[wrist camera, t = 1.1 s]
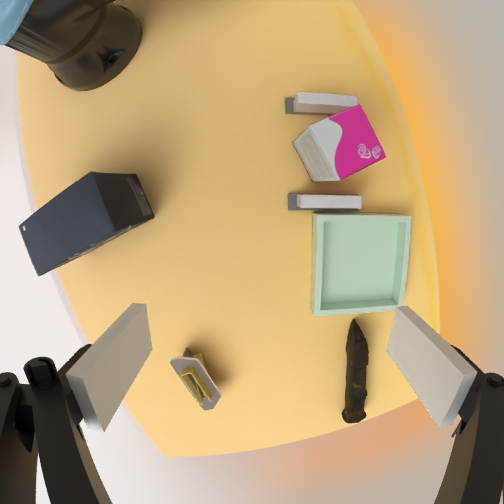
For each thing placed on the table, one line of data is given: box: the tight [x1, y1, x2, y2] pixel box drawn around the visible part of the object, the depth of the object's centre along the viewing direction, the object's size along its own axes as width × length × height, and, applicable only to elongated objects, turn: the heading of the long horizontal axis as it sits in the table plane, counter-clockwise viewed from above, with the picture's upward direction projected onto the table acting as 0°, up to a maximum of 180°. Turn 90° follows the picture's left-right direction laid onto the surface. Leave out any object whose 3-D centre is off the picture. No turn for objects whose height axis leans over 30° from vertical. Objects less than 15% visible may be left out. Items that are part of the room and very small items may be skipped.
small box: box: [19, 172, 154, 276], centre depth 31 cm, size 13×7×12 cm, turn 113°
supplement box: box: [292, 105, 386, 182], centre depth 29 cm, size 6×6×12 cm
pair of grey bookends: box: [285, 92, 361, 210], centre depth 32 cm, size 14×9×5 cm, turn 1°
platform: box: [170, 348, 221, 410], centre depth 39 cm, size 12×18×7 cm, turn 25°
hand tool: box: [342, 319, 369, 423], centre depth 39 cm, size 19×4×5 cm, turn 7°
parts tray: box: [310, 213, 411, 316], centre depth 36 cm, size 13×13×3 cm
